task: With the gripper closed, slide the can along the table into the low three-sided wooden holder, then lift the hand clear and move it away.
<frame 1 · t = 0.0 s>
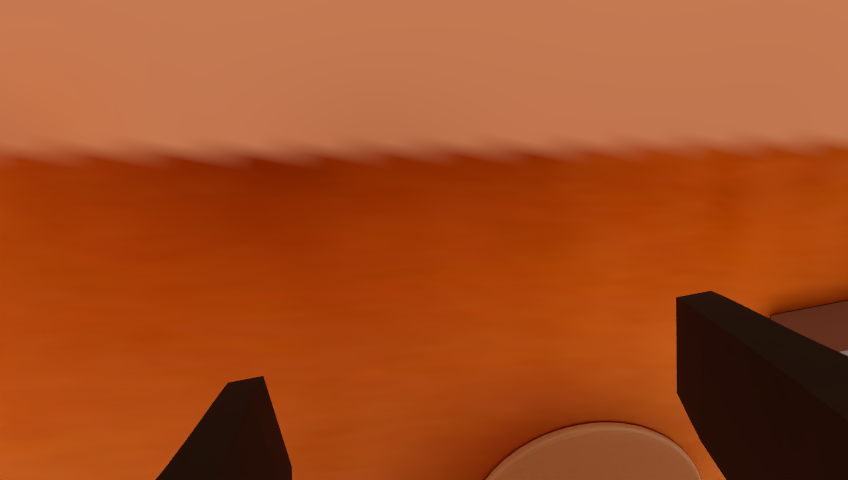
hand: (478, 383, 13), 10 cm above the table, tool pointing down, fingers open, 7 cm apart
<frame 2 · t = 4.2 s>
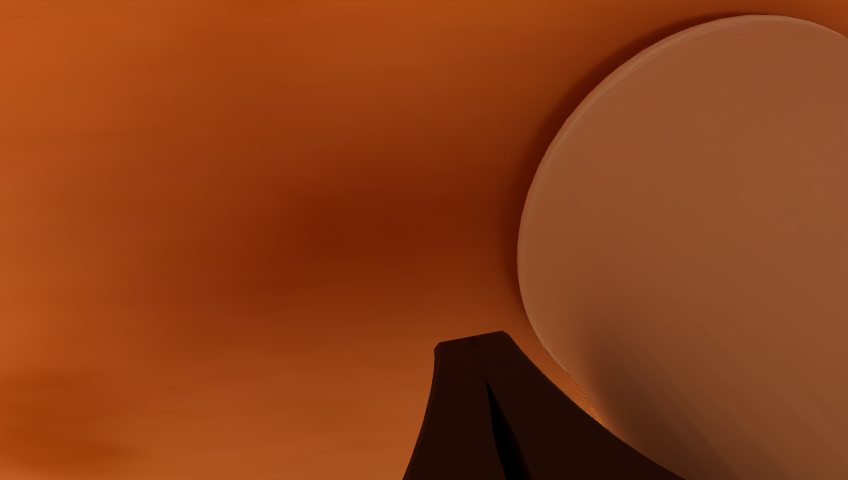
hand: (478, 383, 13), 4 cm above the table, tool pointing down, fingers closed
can: (708, 224, 17), on the table, touching gripper
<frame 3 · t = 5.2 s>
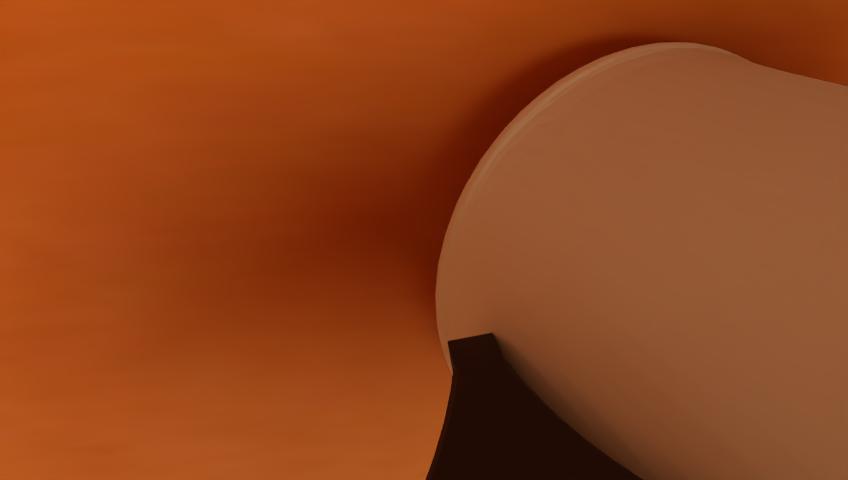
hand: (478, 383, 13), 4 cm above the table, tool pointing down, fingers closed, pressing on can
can: (627, 257, 16), point 1 cm above the table, touching gripper
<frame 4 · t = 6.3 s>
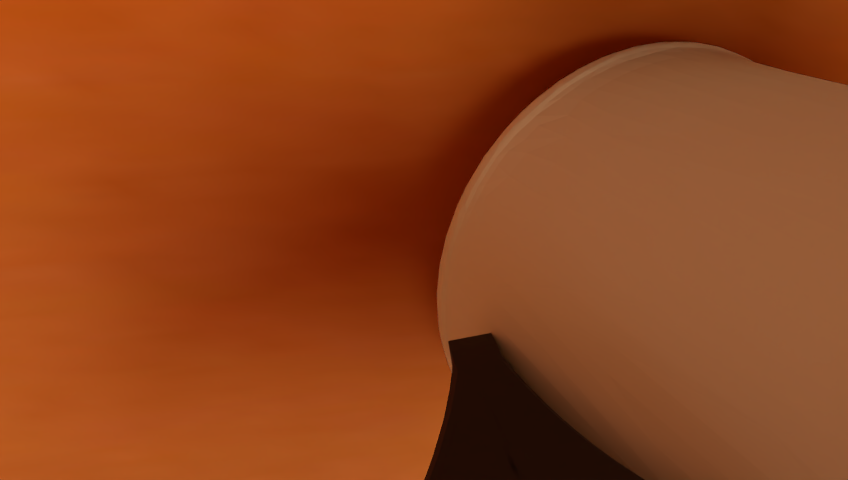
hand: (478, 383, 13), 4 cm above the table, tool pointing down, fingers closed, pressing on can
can: (629, 257, 16), point 1 cm above the table, touching gripper
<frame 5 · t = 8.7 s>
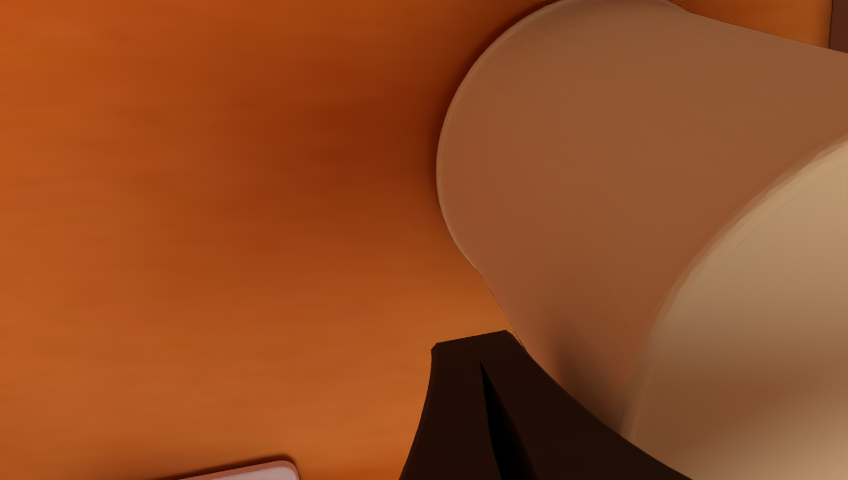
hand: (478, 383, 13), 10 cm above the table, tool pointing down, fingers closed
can: (588, 155, 21), on the table
holder: (625, 143, 22), on the table
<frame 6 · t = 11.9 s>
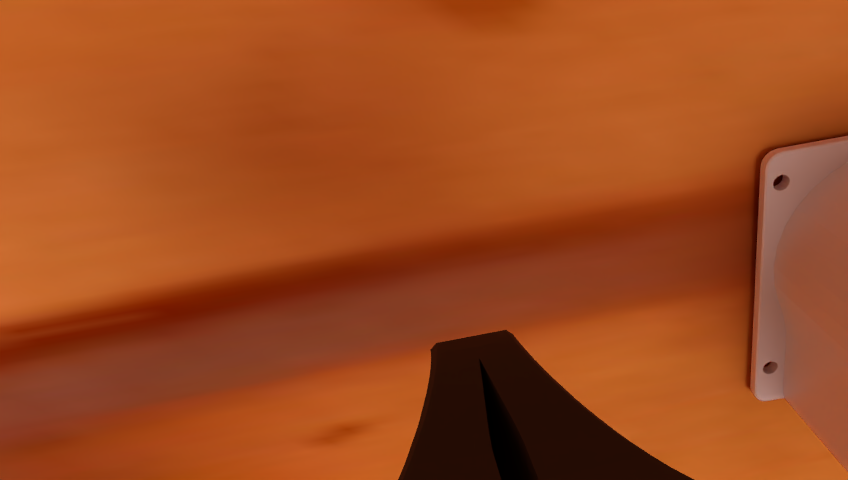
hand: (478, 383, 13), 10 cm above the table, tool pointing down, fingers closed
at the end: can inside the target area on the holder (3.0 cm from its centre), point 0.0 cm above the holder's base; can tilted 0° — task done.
